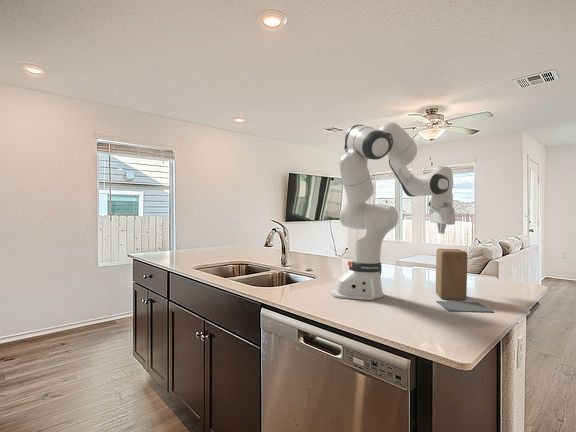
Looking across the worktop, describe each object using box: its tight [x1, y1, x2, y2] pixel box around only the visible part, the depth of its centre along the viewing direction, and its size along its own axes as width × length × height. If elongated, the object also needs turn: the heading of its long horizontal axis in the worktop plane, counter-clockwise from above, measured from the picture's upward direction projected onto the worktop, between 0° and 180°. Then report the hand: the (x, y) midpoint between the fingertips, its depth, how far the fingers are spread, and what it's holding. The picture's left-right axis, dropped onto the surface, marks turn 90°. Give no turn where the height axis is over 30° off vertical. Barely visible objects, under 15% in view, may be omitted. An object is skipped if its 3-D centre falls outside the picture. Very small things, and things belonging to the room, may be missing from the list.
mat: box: [435, 300, 495, 314], centre depth 126 cm, size 16×12×1 cm
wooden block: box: [435, 248, 468, 301], centre depth 140 cm, size 10×10×20 cm
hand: (441, 233), depth 150 cm, fingers closed
